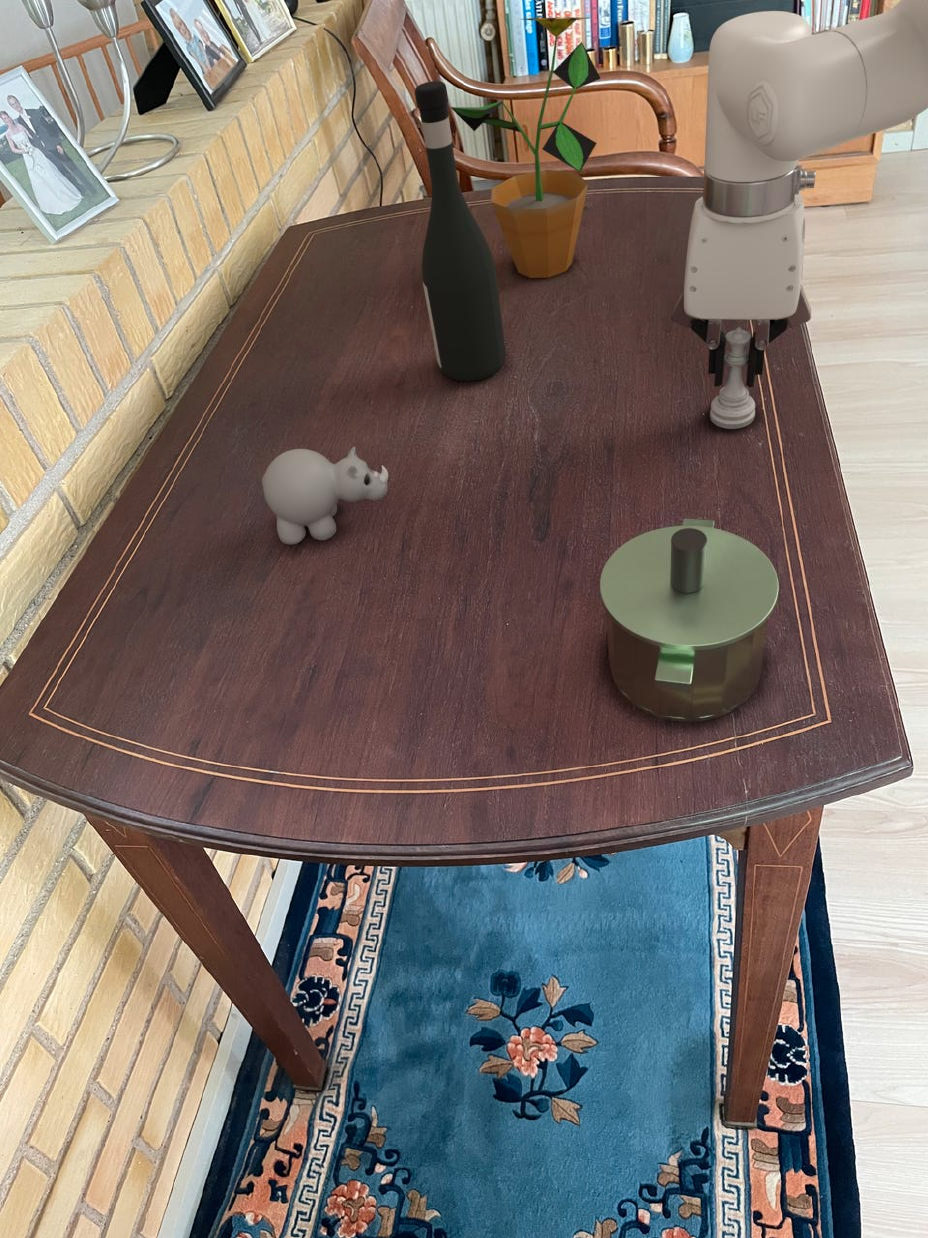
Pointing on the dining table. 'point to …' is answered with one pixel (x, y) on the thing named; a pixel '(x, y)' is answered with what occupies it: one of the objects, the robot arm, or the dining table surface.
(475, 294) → the wine bottle
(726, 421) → the chess piece
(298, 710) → the dining table surface
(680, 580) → the pot lid
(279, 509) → the toy rhinoceros
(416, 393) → the dining table surface
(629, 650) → the pot
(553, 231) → the potted plant
